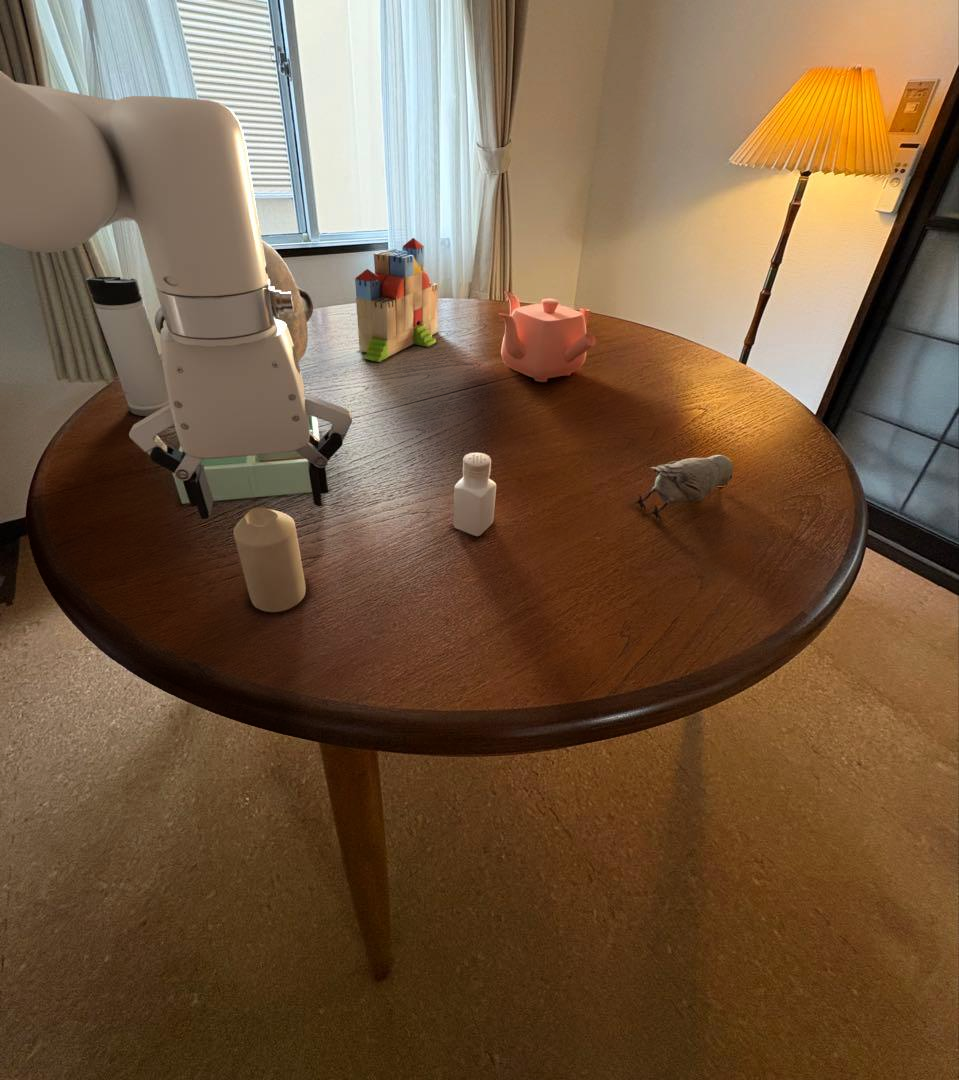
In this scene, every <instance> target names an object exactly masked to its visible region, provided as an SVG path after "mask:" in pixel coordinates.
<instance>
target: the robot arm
mask: <svg viewBox="0 0 959 1080" xmlns="http://www.w3.org/2000/svg"><path fill="white" fill-rule="evenodd" d="M131 221H134V222H135V223H136V224H137V227H138V230H139V234H140V237H141V240H142V244H143V247H144V248H143V249H144V251H145V255H146V258H147V261H148V264H149V268H150V272H151V275H152V279H153V282H154V287H155V290H156V294H157V298H158V300H159V304H160V308H162V311H163V315H164V318H165V320H164V322H165V325H164V326H163V328H162V329H161V333H160V334H159V340H160V341H159V343H160V353H161V364H162V367H163V371H164V377H165V382H166V388H167V393H168V398H169V403H170V404H168V405H166V406H165V407H163V408H161V409H160V410H158V411H156V412H154V413H153V414H151V415H149V416H145V418H143V419H141V420H139V421H138V422H136V423H134V424H133V425H132V426H131V429H130V431H129V433H128V436H129V438H130V440H131V441H133V442H134V443H135V444H136V445H137V446H138V447H139V448H140V449H141V450H142V451H143V452H144V453H146V454H147V455H148V456H149V457H150V460H151V461H152V462H153V463H155V464H157V465H159V466H160V467H162V468H164V469H166V470H167V471H169V472H170V473H172V472H173V473H175V477H176V478H177V479H179V480H181V481H183V483H184V486H185V490H186V493H187V496H188V499H189V502H190V503H189V505H190V506H191V508H192V507H197V511H198V513H199V516H200V519H201V520H207V519H208V520H209V518H210V517H211V515H212V512H213V511H212V510H213V505H214V501H213V497H212V493H211V490H210V486H209V483H208V479H207V476H206V473H205V469H204V466H201V461H202V460H203V459H217V458H230V457H242V456H254V455H265V454H276V453H286V452H293V451H297V452H298V453H299V454H300V455H302V456H303V457H304V458H305V459H307V460H308V468H309V476H310V482H311V488H312V492H311V494H312V501H313V505H314V506H316V508H318V507H323V499H322V498H323V496H322V494H327V493H329V484H328V477H327V471H326V467H327V465H328V461H329V460H330V459H331V458H333V456H334V455H335V454H336V453H337V451H339V450H340V448H341V447H342V446H343V443H344V440H345V437H346V436H347V434H348V432H349V429H350V427H351V425H352V423H353V418H352V413H351V411H350V410H349V409H347V408H344V407H342V406H339V405H337V404H335V403H331V402H329V401H326V400H324V399H321V398H318V397H316V396H313V395H311V394H309V393H306V390H305V385H304V381H303V376H302V371H301V367H300V361H299V362H298V358H297V354H296V351H295V347H294V344H293V341H292V338H291V335H290V333H289V330H288V327H287V325H286V323H285V322H283V321H280V320H275V318H278V317H279V314H283V313H284V312H288V311H294V310H293V302H292V296H291V292H283V293H281V291H275V288H274V287H271V286H270V281H269V279H268V273H267V268H266V262H265V256H264V250H263V244H262V240H263V239H262V233H261V228H260V222H259V215H258V210H257V204H256V199H255V192H254V187H253V180H252V175H251V169H250V164H249V158H248V151H247V146H246V141H245V136H244V131H243V129H242V126H241V123H240V121H239V119H238V118H237V116H236V114H235V113H234V112H233V110H232V109H230V108H229V107H228V106H227V105H224V104H223V103H220V102H218V101H213V100H209V99H200V98H191V97H190V98H189V97H175V96H174V97H173V96H155V95H154V96H153V95H139V96H138V95H132V96H131V95H130V96H124V97H121V98H119V99H111V98H104V97H97V96H92V95H88V94H81V93H77V92H73V91H67V90H63V89H58V88H53V87H48V86H43V85H37V84H36V85H35V84H26V83H21V82H16V81H15V80H14V79H12V78H10V76H8V75H7V74H5V73H4V72H3V71H1V70H0V243H2V244H4V245H7V246H9V247H13V248H15V249H20V250H24V251H27V252H34V253H35V252H36V253H45V254H46V253H47V254H49V253H50V254H51V253H61V252H66V251H70V250H72V249H75V248H77V247H79V246H81V245H83V244H84V243H86V242H88V241H89V240H90V239H92V238H93V236H95V235H96V234H97V233H98V232H100V230H101V229H104V228H106V227H108V226H111V225H113V224H116V223H119V222H131ZM309 415H311V416H314V417H317V418H318V419H320V420H322V421H326V422H328V423H330V424H331V426H330V429H328V431H327V432H326V433H325V434H324V435H323V436H322V438H320V440H319V439H318V438H317V437H315V436H314V435H313V434H312V433H311V432H309ZM173 426H174V429H175V433H176V436H177V438H178V442H179V446H180V445H181V447H182V449H183V452H180V451H179V449H178V448H175V447H174V446H172V445H171V444H169V443H167V442H164V441H163V440H162V439H161V438H160V437H159V434H160V433H162V432H164V431H166V430H167V429H169V428H171V427H173Z"/></svg>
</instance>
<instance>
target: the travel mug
mask: <svg viewBox="0 0 959 1080" xmlns="http://www.w3.org/2000/svg"><path fill="white" fill-rule="evenodd" d="M85 281H86V284H87V287H88V290H89V293H90V295H91V298H92V302H93V306H94V308H95V312H96V314H97V317H98V321H99V323H100V327H101V330H102V331H103V335H104V338H105V341H106V344H107V347H108V350H109V353H110V356H111V359H112V362H113V365H114V367H115V371H116V373H117V377H118V380H119V383H120V386H121V388H122V391H123V394H124V397H125V399H126V402H127V406H128V409H129V412H130V413H132V414H133V415H135V416H140V417H141V416H142V417H148V416H149V415H151V414H153V413H154V412H156V411H158V410H160V409H161V408H163V407H165V406H166V405H168V404H170V403H169V398H168V393H167V388H166V382H165V377H164V371H163V363H162V359H161V357H160V354H159V350H158V347H157V343H156V341H155V336H154V333H153V330H152V326H151V323H150V319H149V316H148V312H147V309H146V305H145V303H144V299H143V297H142V293H141V289H140V287H139V286H140V285H139V283H138V279H136V278H130V279H127V278H121V277H120V276H93V277H87V278H86V280H85Z"/></svg>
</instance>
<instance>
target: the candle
mask: <svg viewBox="0 0 959 1080" xmlns="http://www.w3.org/2000/svg"><path fill="white" fill-rule="evenodd" d="M296 527H297V526H296V522H295V520H294V518H292V516H290V515H288V514H287V513H285V512H282V511H279V510H275V509H271V508H266V507H253V508H251V509H250V510H249V511H248V512H247V513H246V514H245V515H244V516H243V517H242V518H241V519H240V520H239V521H238V522H237V523H236V524H235V526H234V528H233V537H234V541H235V545H236V549H237V553H238V557H239V560H240V561H239V562H240V565H241V569H242V572H243V577H244V579H245V584H246V589H247V592H248V596H249V599H250V602H251V603H252V605H253V606H254V607H255V608H256V609H257V610H260V611H263V612H266V613H267V612H268V613H277V612H278V613H280V612H285V611H287V610H290V609H291V608H293V607H295V606H297V605H298V604H300V602H302V600H303V599H304V598H305V595H306V589H307V586H306V580H305V574H304V568H303V563H302V558H301V557H302V556H301V551H300V545H299V539H298V533H297V528H296Z"/></svg>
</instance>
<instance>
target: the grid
mask: <svg viewBox="0 0 959 1080" xmlns="http://www.w3.org/2000/svg"><path fill="white" fill-rule="evenodd" d="M309 432H311V433H312V434H313V435H314V436H315V437H317V438H318V439H319V440H321V436H320V428H319V418H317V417H314V416H311V415H309ZM178 450H179V451H180V452H183V449H182V447H181V445H180V444H179V448H178ZM201 466H204V469H205V473H206V476H207V479H208V483H209V486H210V490H211V493H212V497H213V502H219V501H229V500H240V499H252V498H262V497H274V496H275V497H276V496H285V495H297V494H304V493H305V494H308V493H312V488H311V482H310V476H309V468H308V460H307V459H305V458H304V457H303V456H302V455H300V454H299V453H298V452H297V451H293V452H286V453H276V454H265V455H254V456H242V457H230V458H217V459H203V460H202V461H201ZM171 473H172V476H173V481H174V482H175V486H176V490H177V492H178V495H179V499H180V503H181V504H183V505H185V504H190V502H189V499H188V496H187V493H186V490H185V486H184V483H183V481H181V480H179V479H177V478H176V477H175V473H173V472H171Z"/></svg>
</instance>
